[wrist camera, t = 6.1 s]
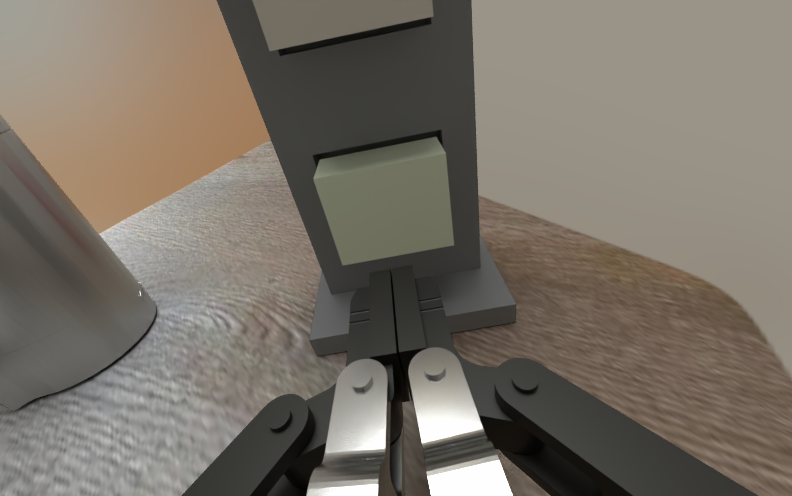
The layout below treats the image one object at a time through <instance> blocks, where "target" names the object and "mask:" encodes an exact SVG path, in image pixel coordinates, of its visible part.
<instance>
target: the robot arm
mask: <svg viewBox="0 0 792 496" xmlns="http://www.w3.org/2000/svg"><path fill="white" fill-rule="evenodd" d="M155 314H156V305H155V302H154V301H153V299H152V298H151V297H150V296H149V295H148V293H147V292H146V291H145V290H144V287H143V286H142V285H141V284H140V283H139V281H138V280H136V279H135V278H134V276H133V275H132V274H131V273H130V271H129V270H128V269H127V268H126V267H125V265H124V264H123V263H122V262H121V260H120V259H119V258H118V257H117V256H116V254H115V253H114V252H113V251H112V249H111V248H110V247H109V246H108V245H107V243H106V242H105V241H104V240H103V239H102V237H101V236H100V235H99V234H98V232H97V231H96V230H95V229H94V228H93V227H92V225H91V224H90V223H89V222H88V220H87V219H86V218H85V217H84V216H83V214H82V213H81V212H80V211H79V209H77V207H76V206H75V205H74V203H73V202H72V201H71V200H70V199H69V197H68V196H67V195H66V194H65V193H64V191H63V190H62V189H61V188H60V186H59V185H58V184H57V183H56V182H55V180H54V179H53V178H52V177H51V176H50V174H49V173H48V172H47V171H46V170H45V168H44V167H43V166H42V165H41V163H40V162H39V161H38V160H37V159H36V157H35V156H34V155H33V154H32V153H31V151H30V150H29V149H28V148H27V146H26V145H25V144H24V143H23V142H22V140H21V139H20V138H19V137H18V136H17V134H16V133H15V132H14V131H13V129H11V127H10V126H9V125H8V123H7V122H6V121H5V120H4V119H3V117H2V116H1V115H0V403H1V404H3V405H4V406H6V407H7V408H9V409H11V410H12V411H14V410H16V409H18V408H20V407H21V406H23V405H25V404H26V403H28V402H30V401H32V400H34V399H36V398H39V397H42V396H45V395H49V394H52V393H56V392H59V391H61V390H64V389H66V388H69V387H71V386H73V385H76V384H78V383H79V382H81V381H83V380H85V379H87V378H89V377H91V376H93V375H94V374H96V373H97V372H99V371H101V370H102V369H104V368H105V367H107V366H108V365H110V364H111V363H113V362H114V361H115V360H116V359H118V358H119V357H120V356H122V355H123V354H124V353H125V352H126V351H128V350H129V349H130V348H131V347H132V346H133V345H134V344H135V343H136V342H137V341H138V340H139V339H140V338H141V337H142V336H143V334H144V333H145V332H146V331H147V329H148V328H149V326H150V325H151V323H152V322H153V319H154V317H155ZM349 323H350V325H349V334H348V350H347V363H346V368H344V370H343V371H342V372H341V374H340V375H339V377H338V380H337V383H336V384H334V385H333V386H332V387H331V388H329V389H328V390H326V391H324V392H322V393H320V394H318V395H316V396H314V397H312V398H310V399H308V400H306V401H305V400H304V399H303V398H302V397H300V396H298V395H295V394H287V395H283V396H280V397H277V398H276V399H274V400H272V401H271V402H270V403H268V404H267V405H266V406H265V407H264V408H263V409H262V410H261V411H260V412H259V413H258V415H257V416H256V417H255V418H254V419H253V420H252V421H251V422H250V423H249V424H248V425H247V426H246V427H245V428H244V429H243V431H242V432H241V433H240V434H239V435H238V436H237V437H236V438H235V439H234V440H233V441H232V442H231V443H230V444H229V446H228V447H227V448H226V449H225V450H224V451H223V452H222V453H221V454H220V455H219V456H218V457H217V458H216V459H215V460H214V462H213V463H212V464H211V465H210V466H209V467H208V468H207V469H206V470H205V471H204V472H203V473H202V474H201V475H200V477H199V478H198V479H197V480H196V481H195V482H194V483H193V484H192V485H191V486H190V487H189V488H188V489H187V490H186V491H185V493H184V494H183V495H182V496H405V467H404V426H403V410H402V402H406V401H410V400H409V392H410V395H411V399H412V400H414V405H415V410H416V415H417V420H418V425H419V430H420V436H421V441H422V446H423V451H424V460H425V466H426V471H427V476H428V481H429V487H430V492H431V496H512V493H511V491H510V488H509V485H508V482H507V480H506V477H505V474H504V471H503V469H502V466H501V463H500V461H499V458H498V455H497V453H496V450H495V449H498V450H500V451H501V452H502V453H503V454H504V455H505V456H506V457H507V458H508V459H509V460H510V461H511V462H513V463H514V464H515V465H516V466H517V467H518V468H520V469H521V470H522V471H523V472H524V473H525V474H526V475H528V476H529V477H530V478H531V479H532V480H533V481H535V482H536V483H537V484H538V485H539V486H540V487H541V488H543V489H544V490H545V491H546V492H547V493H548V494H550V495H551V496H758V495H756V494H754V493H753V492H751V491H749V490H748V489H746V488H744V487H743V486H741V485H739V484H738V483H736V482H735V481H733V480H731V479H730V478H728V477H726V476H725V475H723V474H721V473H720V472H718V471H716V470H715V469H713V468H711V467H710V466H708V465H706V464H705V463H703V462H701V461H700V460H698V459H696V458H695V457H693V456H691V455H690V454H688V453H687V452H685V451H683V450H682V449H680V448H678V447H677V446H675V445H673V444H672V443H670V442H668V441H667V440H665V439H663V438H662V437H660V436H658V435H657V434H655V433H653V432H652V431H650V430H648V429H647V428H645V427H643V426H642V425H640V424H639V423H637V422H635V421H634V420H632V419H630V418H629V417H627V416H625V415H624V414H622V413H620V412H619V411H617V410H615V409H614V408H612V407H610V406H609V405H607V404H605V403H604V402H602V401H600V400H599V399H597V398H595V397H594V396H592V395H591V394H589V393H587V392H586V391H584V390H582V389H581V388H579V387H577V386H576V385H574V384H572V383H571V382H569V381H567V380H566V379H564V378H562V377H561V376H559V375H557V374H556V373H554V372H552V371H551V370H549V369H547V368H546V367H544V366H543V365H541V364H539V363H537V362H535V361H533V360H530V359H525V358H514V359H510V360H507V361H505V362H504V363H502V364H501V365H500V366H499V367H498V368H493V367H486V366H480V365H475V364H472V363H470V362H468V361H466V360H465V359H463V358H462V357H461V356H460V355H459V354H458V353H457V351H456V349H455V348H454V345H453V341H452V337H451V333H450V330H449V326H448V322H447V318H446V314H445V310H444V306H443V302H442V299H441V295H440V291H439V287H438V284H437V283H436V282H435V281H434V280H433V279H432V278H431V277H430V276H427V277H421V278H414V273H413V267H412V264H410V265H404V266H399V267H393V268H392V272H391V269H390V268H388V269H382V270H377V271H371V272H370V274H369V287H365V288H359V289H357V290H356V292H355V294H354V295H353V297H352V299H351V304H350V319H349ZM408 388H409V390H408Z"/></svg>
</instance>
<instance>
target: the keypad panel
mask: <svg viewBox="0 0 792 496" xmlns="http://www.w3.org/2000/svg"><path fill="white" fill-rule="evenodd" d="M217 2H218V5H219V7H220V10H221V12H222V15H223V17H224V20H225V23H226V25H227V28H228V30H229V33H230V35H231V38H232V40H233V43H234V46H235V48H236V51H237V53H238V56H239V59H240V61H241V64H242V66H243V69H244V71H245V74H246V76H247V79H248V82H249V84H250V87H251V89H252V92H253V94H254V97H255V99H256V102H257V105H258V107H259V110H260V112H261V115H262V118H263V120H264V123H265V125H266V128H267V130H268V133H269V136H270V138H271V141H272V143H273V146H274V148H275V151H276V154H277V156H278V159H279V161H280V164H281V166H282V169H283V172H284V174H285V177H286V179H287V182H288V184H289V187H290V190H291V192H292V195H293V197H294V200H295V202H296V205H297V207H298V210H299V213H300V215H301V218H302V220H303V223H304V225H305V228H306V231H307V233H308V236H309V238H310V241H311V243H312V246H313V249H314V251H315V254H316V256H317V259H318V261H319V264H320V267H321V269H322V272H321V278H320V283H319V289H318V294H317V299H316V305H315V310H314V316H313V321H312V327H311V332H310V337H309V341H310V343H311V345H312V347H313V349H314V351H315V353H316V355H317V356H322V355H327V354H333V353H339V352H345V351H347V350H348V334H349V325H350V323H349V319H350V304H351V299H352V297H353V295H354V294H355V292H356V290H357V289H359V288H365V287H369V274H370V272H371V271H377V270H382V269H388V268H390V269H391V272H392V268H393V267H399V266H404V265H410V264H412V267H413V273H414V278H421V277H427V276H430V277H431V278H432V279H433V280H434V281H435V282H436V283H437V284H438V287H439V291H440V295H441V299H442V302H443V306H444V310H445V314H446V318H447V322H448V326H449V330H450V333H455V332H461V331H467V330H473V329H478V328H484V327H490V326H496V325H502V324H507V323H513V322H515V320H516V303H515V301H514V299H513V297H512V295H511V293H510V291H509V289H508V287H507V285H506V283H505V282H504V280H503V278H502V276H501V274H500V272H499V270H498V268H497V266H496V264H495V262H494V261H493V259H492V257H491V255H490V253H489V251H488V249H487V247H486V245H485V243H484V241H483V239H482V238H481V236H480V234H479V205H478V179H477V149H476V122H475V93H474V67H473V66H474V65H473V37H472V8H471V0H432V4H433V15H434V17H429V18H424V19H419V20H415V21H410V22H405V23H401V24H396V25H391V26H387V27H382V28H377V29H372V30H368V31H363V32H358V33H354V34H349V35H344V36H339V37H335V38H330V39H325V40H321V41H316V42H311V43H307V44H302V45H297V46H292V47H288V48H283V49H278V50H274V51H269V48H268V45H267V42H266V39H265V36H264V33H263V30H262V27H261V24H260V21H259V18H258V15H257V12H256V9H255V6H254V3H253V1H252V0H217ZM432 137H437V139H438V141H439V142H440V144H441V146H442V147H443V149H444V151H445V152H446V160H447V171H448V183H449V194H450V205H451V216H452V227H453V238H454V245H453V246H447V247H442V248H436V249H431V250H425V251H420V252H414V253H409V254H403V255H398V256H393V257H387V258H382V259H376V260H371V261H365V262H360V263H354V264H349V265H342V262H341V259H340V256H339V253H338V251H337V248H336V245H335V242H334V239H333V236H332V233H331V230H330V227H329V224H328V221H327V218H326V215H325V212H324V209H323V206H322V203H321V201H320V198H319V195H318V192H317V189H316V186H315V183H314V180H313V178H314V175H315V172H316V169H317V166H318V164H319V161H320V160H321V159H326V158H331V157H336V156H341V155H346V154H351V153H356V152H361V151H366V150H371V149H376V148H381V147H387V146H392V145H397V144H402V143H407V142H412V141H417V140H422V139H427V138H432Z"/></svg>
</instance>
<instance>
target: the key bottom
mask: <svg viewBox="0 0 792 496" xmlns="http://www.w3.org/2000/svg"><path fill="white" fill-rule="evenodd" d="M313 180H314V183H315V186H316V189H317V192H318V195H319V198H320V201H321V203H322V206H323V209H324V212H325V215H326V218H327V221H328V224H329V227H330V230H331V233H332V236H333V239H334V242H335V245H336V248H337V251H338V253H339V256H340V259H341V262H342V265H349V264H354V263H360V262H365V261H371V260H376V259H382V258H387V257H393V256H398V255H403V254H409V253H414V252H420V251H425V250H431V249H436V248H442V247H447V246H453V245H454V238H453V227H452V216H451V205H450V194H449V183H448V171H447V160H446V152H445V151H444V149H443V147H442V146H441V144H440V142H439V141H438V139H437V137H432V138H427V139H422V140H417V141H412V142H407V143H402V144H397V145H392V146H387V147H381V148H376V149H371V150H366V151H361V152H356V153H351V154H346V155H341V156H336V157H331V158H326V159H321V160H320V161H319V164H318V166H317V169H316V172H315V175H314V178H313Z"/></svg>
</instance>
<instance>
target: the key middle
mask: <svg viewBox="0 0 792 496" xmlns="http://www.w3.org/2000/svg"><path fill="white" fill-rule="evenodd" d="M252 1H253V3H254V6H255V9H256V12H257V15H258V18H259V21H260V24H261V27H262V30H263V33H264V36H265V39H266V42H267V45H268V48H269V51H274V50H278V49H283V48H288V47H292V46H297V45H302V44H307V43H311V42H316V41H321V40H325V39H330V38H335V37H339V36H344V35H349V34H354V33H358V32H363V31H368V30H372V29H377V28H382V27H387V26H391V25H396V24H401V23H405V22H410V21H415V20H419V19H424V18H429V17H434V15H433V4H432V0H252Z"/></svg>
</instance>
